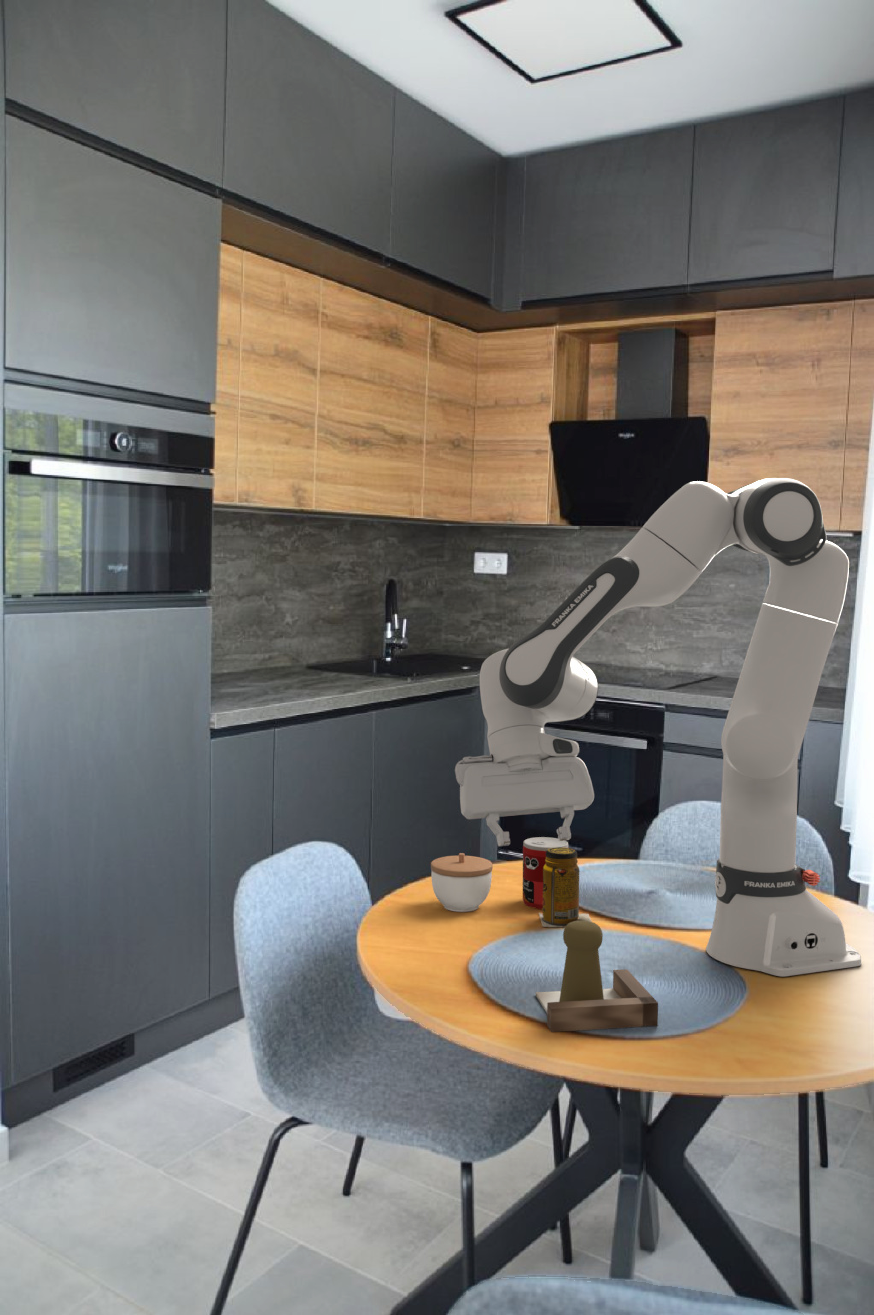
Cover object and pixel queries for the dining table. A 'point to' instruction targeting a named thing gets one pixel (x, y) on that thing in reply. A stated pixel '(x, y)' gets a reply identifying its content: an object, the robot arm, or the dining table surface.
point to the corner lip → (603, 1007)
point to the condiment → (561, 888)
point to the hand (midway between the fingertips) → (534, 842)
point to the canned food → (536, 868)
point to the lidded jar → (461, 881)
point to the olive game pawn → (582, 962)
